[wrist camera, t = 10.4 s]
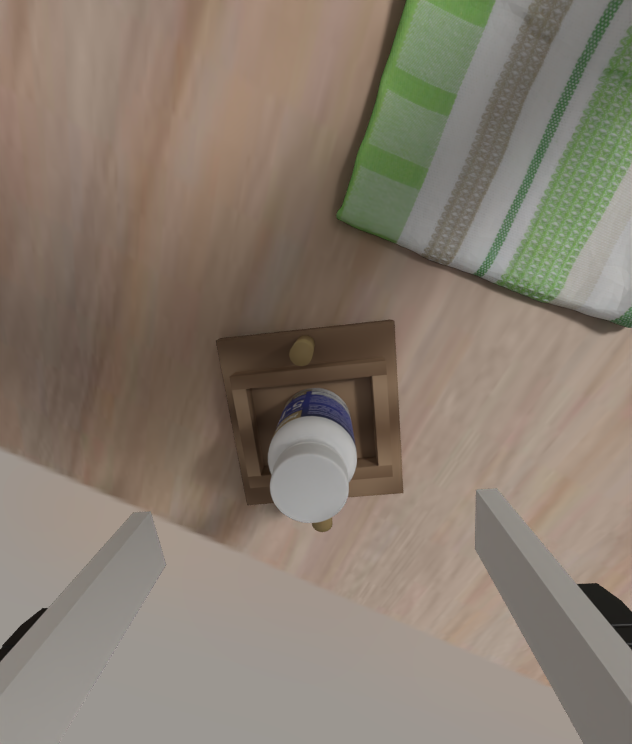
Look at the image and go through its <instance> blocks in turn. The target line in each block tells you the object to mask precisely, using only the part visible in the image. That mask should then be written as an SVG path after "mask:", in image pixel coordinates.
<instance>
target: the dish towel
mask: <svg viewBox="0 0 632 744" xmlns="http://www.w3.org/2000/svg"><path fill="white" fill-rule="evenodd" d="M336 217H337V219H338V220H341V221H343V222H345V223H347V224H349V225H351V226H353V227H355V228H357V229H359V230H362V231H365V232H368V233H371V234H373V235H376V236H379V237H381V238H383V239H386V240H388V241H391V242H393V243H396V244H398V245H400V246H402V247H405V248H407V249H409V250H412V251H414V252H416V253H418V254H419V255H421V256H423V257H425V258H427V259H429V260H432V261H435V262H438V263H439V264H443V265H447V266H450V267H453V268H456V269H459V270H461V271H464V272H467V273H471V274H474V275H477V276H479V277H481V278H483V279H486V280H488V281H490V282H492V283H495V284H498V285H500V286H502V287H505V288H508V289H510V290H512V291H515V292H517V293H520V294H522V295H525V296H528V297H530V298H532V299H535V300H538V301H540V302H545V303H550V304H554V305H557V306H561V307H565V308H569V309H572V310H576V311H578V312H581V313H583V314H586V315H589V316H593V317H596V318H601V319H605V320H608V321H610V322H613V323H615V324H618V325H621V326H624V327H628V328H632V0H406V3H405V6H404V10H403V13H402V16H401V19H400V23H399V26H398V29H397V32H396V36H395V39H394V42H393V45H392V49H391V52H390V55H389V58H388V60H387V63H386V66H385V69H384V72H383V74H382V77H381V81H380V85H379V90H378V94H377V98H376V102H375V105H374V109H373V112H372V115H371V118H370V121H369V124H368V127H367V130H366V133H365V136H364V139H363V141H362V143H361V146H360V148H359V151H358V153H357V157H356V161H355V165H354V170H353V173H352V177H351V180H350V182H349V185H348V189H347V192H346V195H345V198H344V202H343V205H342V206H341V208H340V209H339V210H338V212H337V215H336Z"/></svg>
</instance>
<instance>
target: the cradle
mask: <svg viewBox="0 0 632 744" xmlns="http://www.w3.org/2000/svg"><path fill="white" fill-rule="evenodd" d="M216 344H217V349H218V354H219V360H220V365H221V370H222V375H223V381H224V386H225V391H226V396H227V401H228V407H229V412H230V417H231V422H232V428H233V433H234V438H235V443H236V449H237V454H238V459H239V464H240V469H241V475H242V480H243V485H244V490H245V496H246V501H247V505H254V504H267V503H274V502H273V500H272V497H271V493H270V481H271V476H272V475H271V472H270V469H269V465H268V451H269V447H270V443H271V440H272V438H273V436H274V433H275V431H276V428H277V425H278V423H279V420H280V418H281V415H282V412H283V410H284V407H285V405H286V404H287V402H288V401H289V400H290V399H291V398H292V397H293V396H294V395H295V394H297V393H298V392H300V391H302V390H305V389H310V388H322V389H326V390H329V391H331V392H333V393H335V394H336V395H338V396H339V397H340V398H341V399H342V400H343V401H344V402H345V404H346V406H347V407H348V410H349V413H350V417H351V422H352V428H353V434H354V439H355V445H356V452H357V465H356V469H355V472H354V475H353V477H352V479H351V480H350V482H349V493H348V497H358V496H371V495H384V494H397V493H403V479H402V460H401V440H400V421H399V401H398V382H397V363H396V343H395V324H394V321H393V320H383V321H374V322H365V323H356V324H347V325H338V326H329V327H319V328H310V329H301V330H292V331H283V332H274V333H265V334H256V335H247V336H238V337H229V338H221V339H218V340H216ZM312 526H313V528H314V529H315V530H317V531H319V532H326V531H328V530H329V529H330V528H331V527H332V517H331V518H330V519H327V520H325V521H322V522H317V523H312Z"/></svg>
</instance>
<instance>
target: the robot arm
mask: <svg viewBox="0 0 632 744" xmlns="http://www.w3.org/2000/svg"><path fill="white" fill-rule="evenodd" d="M475 550H476V551H477V553H478V555H479V557H480V559H481V560H482V562H483V564H484V566H485V568H486V569H487V571H488V573H489V575H490V577H491V578H492V580H493V582H494V584H495V586H496V587H497V589H498V591H499V593H500V595H501V596H502V598H503V600H504V602H505V604H506V605H507V607H508V609H509V611H510V612H511V614H512V616H513V618H514V620H515V621H516V623H517V625H518V627H519V629H520V630H521V632H522V634H523V636H524V638H525V639H526V641H527V643H528V645H529V647H530V648H531V650H532V652H533V654H534V656H535V657H536V659H537V661H538V663H539V665H540V666H541V668H542V670H543V672H544V674H545V675H546V677H547V679H548V681H549V683H550V684H551V686H552V688H553V690H554V692H555V693H556V695H557V697H558V699H559V701H560V702H561V704H562V706H563V708H564V710H565V711H566V713H567V715H568V717H569V718H570V720H571V722H572V724H573V726H574V727H575V729H576V731H577V733H578V735H579V736H580V738H581V740H582V742H583V744H632V612H631V611H630V609H629V608H628V607H627V606H626V605H625V604H624V603H623V602H622V601H621V600H620V599H618V598H617V597H615V596H614V595H613V594H611V593H610V592H608V591H607V590H606V589H604V588H603V587H601V586H600V585H599V584H597V583H591V584H576V583H575V582H574V580H573V579H572V578H571V577H570V576H569V574H568V573H567V572H566V571H565V570H564V568H563V567H562V566H561V565H560V564H559V562H558V561H557V560H556V559H555V558H554V556H553V555H552V554H551V553H550V552H549V550H548V549H547V548H546V547H545V546H544V544H543V543H542V542H541V541H540V540H539V538H538V537H537V536H536V535H535V534H534V532H533V531H532V530H531V529H530V528H529V526H528V525H527V524H526V523H525V522H524V520H523V519H522V518H521V517H520V516H519V515H518V513H517V512H516V511H515V510H514V509H513V507H512V506H511V505H510V504H509V503H508V501H507V500H506V499H505V498H504V497H503V495H502V494H501V493H500V492H499V491H498V489H497V488H495V489H480V490H476V518H475ZM165 566H166V563H165V559H164V556H163V552H162V549H161V546H160V542H159V538H158V535H157V532H156V528H155V525H154V521H153V518H152V514H151V511H150V512H135V513H133V514H132V515H131V516H130V517H129V518H128V519H127V520H126V521H125V522H124V523H123V525H122V526H121V527H120V528H119V529H118V530H117V531H116V532H115V534H114V535H113V536H112V537H111V538H110V539H109V540H108V541H107V543H106V544H105V545H104V546H103V547H102V548H101V549H100V550H99V552H98V553H97V554H96V555H95V556H94V557H93V558H92V559H91V561H90V562H89V563H88V564H87V565H86V566H85V567H84V568H83V570H82V571H81V572H80V573H79V574H78V575H77V576H76V577H75V579H74V580H73V581H72V582H71V583H70V584H69V585H68V586H67V588H66V589H65V590H64V591H63V592H62V593H61V594H60V595H59V597H58V598H57V599H56V600H55V601H54V602H53V603H52V604H51V606H50V607H49V608H42V609H41V610H40V611H38V612H37V613H36V614H35V615H33V616H32V617H31V618H30V619H28V620H27V621H26V622H25V623H23V624H22V625H21V626H20V627H19V628H18V629H17V630H16V631H15V632H14V633H13V635H12V636H11V637H10V638H9V639H8V640H7V641H6V642H5V643H4V644H3V645H2V648H1V649H0V744H59V742H60V741H61V739H62V737H63V735H64V734H65V732H66V731H67V729H68V728H69V726H70V724H71V723H72V721H73V719H74V717H75V716H76V714H77V712H78V711H79V709H80V707H81V706H82V704H83V703H84V701H85V699H86V698H87V696H88V694H89V692H90V691H91V689H92V687H93V686H94V684H95V683H96V681H97V679H98V677H99V676H100V674H101V673H102V671H103V669H104V668H105V666H106V664H107V662H108V661H109V659H110V657H111V656H112V654H113V653H114V651H115V649H116V648H117V646H118V644H119V643H120V641H121V639H122V638H123V636H124V634H125V632H126V631H127V629H128V627H129V626H130V624H131V622H132V621H133V619H134V617H135V616H136V614H137V613H138V611H139V609H140V608H141V606H142V604H143V603H144V601H145V599H146V598H147V596H148V594H149V593H150V591H151V589H152V588H153V586H154V584H155V583H156V580H157V579H158V577H159V576H160V574H161V573H162V571H163V569H164V568H165Z"/></svg>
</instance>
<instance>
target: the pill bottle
mask: <svg viewBox="0 0 632 744" xmlns="http://www.w3.org/2000/svg"><path fill="white" fill-rule="evenodd" d="M268 465H269V469H270V472H271V475H272V476H271V481H270V493H271V497H272V500H273V502H274V504H275V505H276V507H277V508H278V509H279V510H280V511H281V512H282V513H283V514H285V515H286V516H288V517H289V518H291V519H293V520H296V521H299V522H304V523H317V522H322V521H325V520H327V519H330V518H331V517H333V516H334V515H336V514H337V513H338V512H339V511H340V510H341V509H342V508H343V506H344V505H345V503H346V500H347V497H348V493H349V482H350V480H351V479H352V477H353V475H354V472H355V469H356V465H357V452H356V445H355V439H354V434H353V428H352V422H351V417H350V413H349V410H348V407H347V406H346V404H345V402H344V401H343V400H342V399H341V398H340V397H339V396H338V395H336V394H335V393H333V392H331V391H329V390H326V389H322V388H310V389H305V390H302V391H300V392H298V393H297V394H295V395H294V396H293V397H292V398H291V399H290V400H289V401H288V402H287V404H286V405H285V407H284V410H283V412H282V415H281V418H280V420H279V423H278V425H277V428H276V431H275V433H274V436H273V438H272V440H271V443H270V447H269V451H268Z"/></svg>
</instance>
